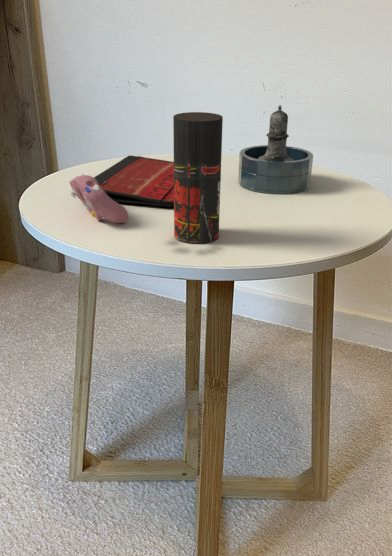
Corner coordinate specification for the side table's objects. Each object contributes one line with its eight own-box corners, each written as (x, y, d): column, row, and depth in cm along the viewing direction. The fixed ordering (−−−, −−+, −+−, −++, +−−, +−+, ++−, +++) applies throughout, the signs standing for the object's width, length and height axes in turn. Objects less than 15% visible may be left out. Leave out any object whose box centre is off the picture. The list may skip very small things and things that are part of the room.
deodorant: (172, 228, 82) (171, 112, 74) (215, 227, 83) (218, 111, 75) (176, 244, 77) (175, 121, 69) (222, 242, 78) (226, 121, 70)
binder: (77, 184, 91) (127, 153, 108) (78, 200, 92) (127, 166, 109) (178, 199, 87) (213, 164, 105) (177, 214, 89) (212, 178, 106)
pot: (309, 176, 106) (312, 146, 103) (309, 196, 96) (313, 164, 93) (241, 172, 107) (243, 143, 105) (235, 191, 97) (236, 160, 94)
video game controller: (83, 216, 90) (58, 177, 85) (108, 200, 91) (85, 160, 86) (106, 238, 83) (80, 196, 78) (133, 219, 83) (109, 177, 79)
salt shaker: (274, 174, 105) (280, 100, 98) (298, 181, 101) (306, 105, 94) (249, 179, 101) (253, 104, 95) (273, 187, 97) (280, 109, 91)
